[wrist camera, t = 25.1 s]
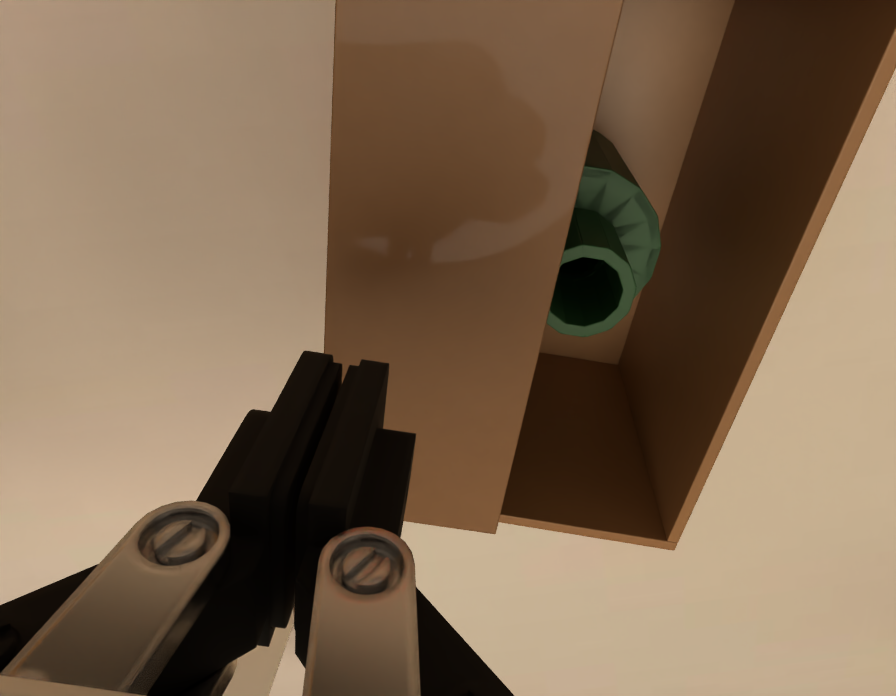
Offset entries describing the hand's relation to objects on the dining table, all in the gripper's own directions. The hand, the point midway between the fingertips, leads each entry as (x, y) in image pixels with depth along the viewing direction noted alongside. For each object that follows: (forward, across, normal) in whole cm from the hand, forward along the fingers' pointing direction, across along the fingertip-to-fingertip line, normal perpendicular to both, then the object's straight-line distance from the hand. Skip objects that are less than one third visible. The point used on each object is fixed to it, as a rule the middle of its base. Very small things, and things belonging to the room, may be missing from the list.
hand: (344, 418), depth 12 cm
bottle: (+18, -6, 0) cm, 19 cm away
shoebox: (+19, -5, 0) cm, 19 cm away
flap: (+6, -1, 0) cm, 6 cm away
